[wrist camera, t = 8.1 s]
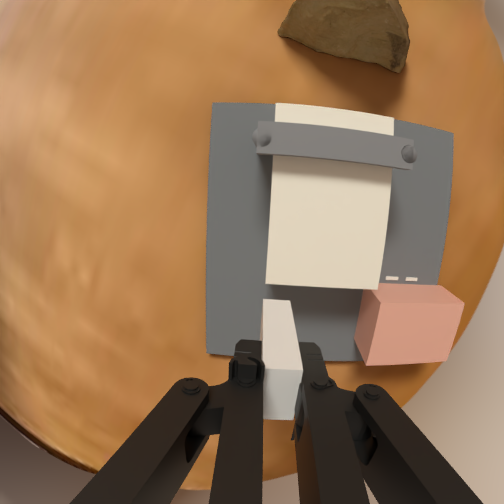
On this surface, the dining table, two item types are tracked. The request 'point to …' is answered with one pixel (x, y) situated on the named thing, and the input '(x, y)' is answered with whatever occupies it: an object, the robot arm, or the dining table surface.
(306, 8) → the rock
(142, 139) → the dining table surface
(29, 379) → the dining table surface
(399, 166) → the clamped cream block
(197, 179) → the dining table surface
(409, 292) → the stub
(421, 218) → the mat
